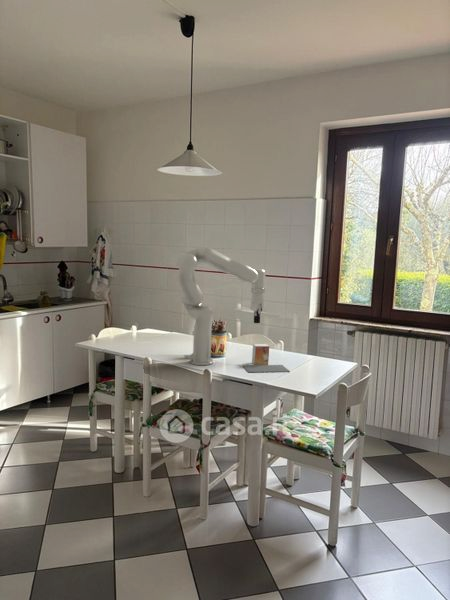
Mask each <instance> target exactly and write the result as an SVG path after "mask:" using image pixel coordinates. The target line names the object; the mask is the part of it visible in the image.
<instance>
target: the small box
mask: <svg viewBox="0 0 450 600" xmlns="http://www.w3.org/2000/svg"><path fill="white" fill-rule="evenodd" d="M251 357H252V358H251V363H252V364H253V365H269V362H270V361H269V360H270V359H269V358H270V346H269V345H268V344H267V343H263V344H261V343H256V344H255V343H253V344H252V355H251Z"/></svg>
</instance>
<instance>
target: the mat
mask: <svg viewBox="0 0 450 600" xmlns="http://www.w3.org/2000/svg"><path fill="white" fill-rule="evenodd" d="M242 367H243V368H244V370H246V372H247V371H248V372H247V373H248V374H253V373H254V374H255V373H256V374H257V373H260V374H261V373H262V374H263V373H264V372H265V373H290V372H291V370H289V369H288V368H287V367H286V366H284V365H283V364H268V365H254V364H253V365H252V364H251V365H247V364H246V365H245V364H244V365H243V364H242Z"/></svg>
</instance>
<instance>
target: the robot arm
mask: <svg viewBox="0 0 450 600" xmlns="http://www.w3.org/2000/svg"><path fill="white" fill-rule="evenodd" d="M175 259H176V260H175V264H176V266H177V267H178V272H177V280H178V282H179V286H180V288H181V291H180V299H181V301H182V304H183V305H184V307H185V309H186V312H187V313H188V315H189V317H190V318H192V319H193V320H194V321H195V323H194V325H193V326H194V327H193V341H192V342H193V344H192V346H193V347H192V349H193V350H192V353H191V354H185V355H183V357H184V359H185V360H189V363H190V364H192V365H197V366H208V365H209V366H210V365H213V364H214V360H213V359H212V358H211V352H212V351H211V348H212V328H213V327H212V325H213V322H214V311H213V308H211V307H210V306H209V305H206V304H203V301H204V294H203V292H202V290H201V288H200V287H199V284H198V282H197V280H196V278H195V271H196V268H197V267H198V265H200V264H202V263H203V264H207V265H208V266H209V267H213V268H215V269H216V270H218V271H220V272H222V273H224V274H228V275H232V276H235V277H237V279H238V280H239V281H240V282H243V283H248V284H251V290H250V291H251V293H250V294H251V298H250V301H251V302H250V310H251V311H253V323H254V324H260V323H261V313H262V312H264V311H263V310H264V295H265V292H266V291H265V288H266V270H265V269H262V268H255V269H254V268H252V267H250V266H249V265H246V264H244V263H242V262H239V261H237V260H235V259H233V258H230V257H229V256H227V255H225V254H223V253H221V252H219V251H218V250H216V249H214V248H211V247H206V246H205V247H204V246H201V247H198V248H195V249H191V250H189V251H185V252H182V253H180V254H178V255H177V257H176V258H175Z"/></svg>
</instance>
